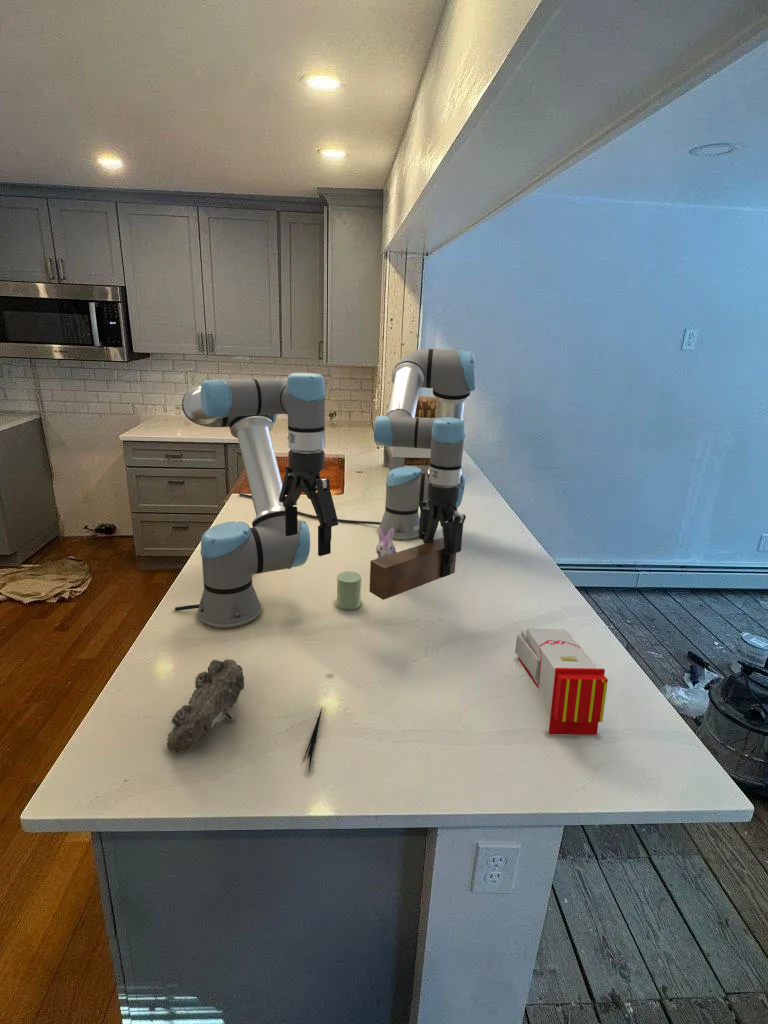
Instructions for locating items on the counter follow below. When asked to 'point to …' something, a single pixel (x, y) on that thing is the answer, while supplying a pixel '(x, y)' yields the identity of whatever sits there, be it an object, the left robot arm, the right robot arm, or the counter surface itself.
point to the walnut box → (407, 569)
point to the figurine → (385, 543)
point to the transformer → (412, 456)
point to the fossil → (206, 705)
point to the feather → (313, 740)
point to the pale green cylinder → (348, 590)
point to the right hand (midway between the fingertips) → (436, 571)
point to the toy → (564, 680)
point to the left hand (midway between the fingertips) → (307, 544)
